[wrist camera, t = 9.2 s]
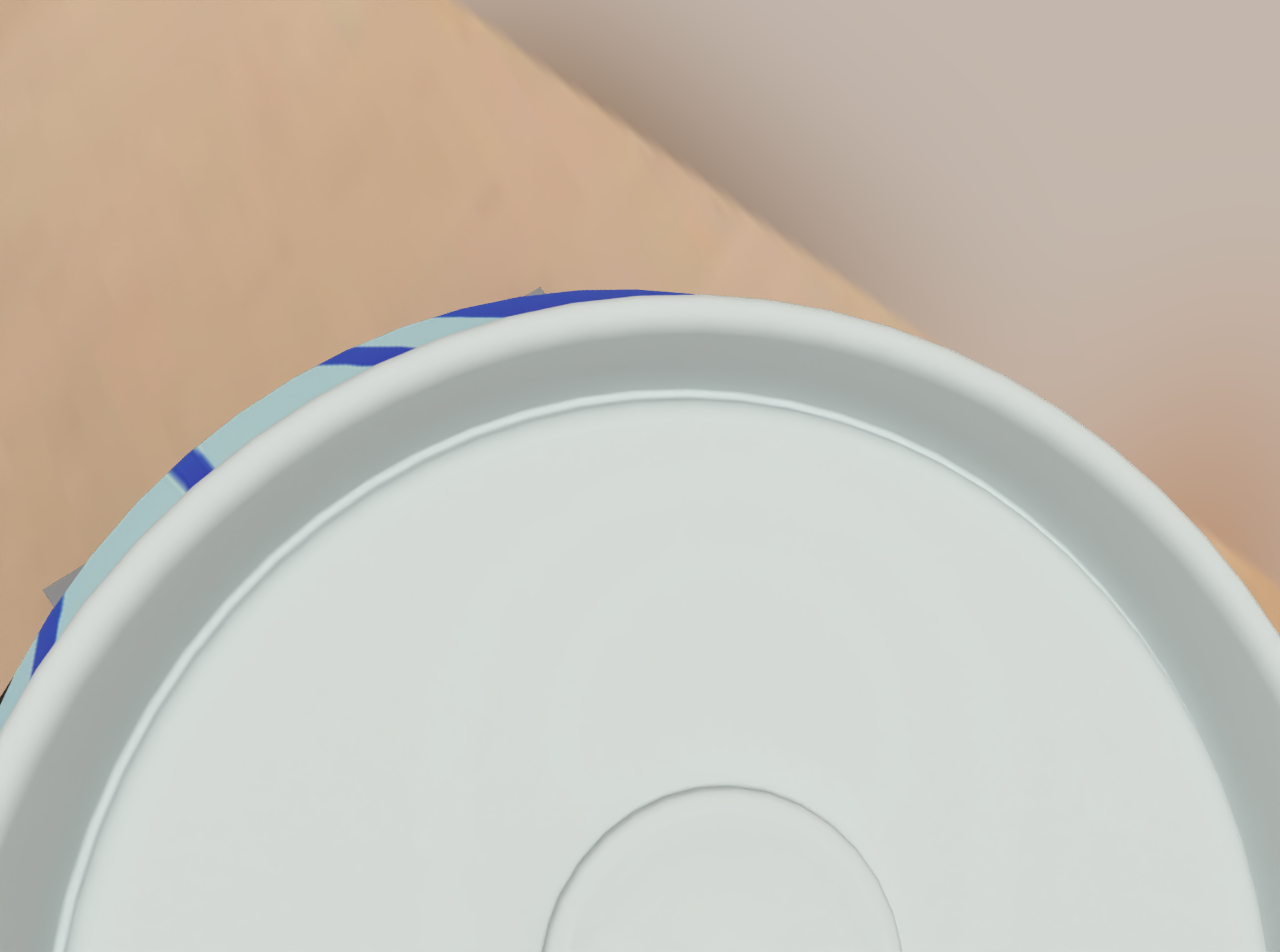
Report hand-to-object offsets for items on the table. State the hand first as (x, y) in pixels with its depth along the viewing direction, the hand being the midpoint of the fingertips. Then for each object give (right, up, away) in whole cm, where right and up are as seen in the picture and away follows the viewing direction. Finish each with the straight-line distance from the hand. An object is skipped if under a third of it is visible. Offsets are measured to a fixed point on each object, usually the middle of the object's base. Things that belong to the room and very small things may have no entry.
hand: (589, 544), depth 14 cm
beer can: (-1, -5, +5) cm, 7 cm away
